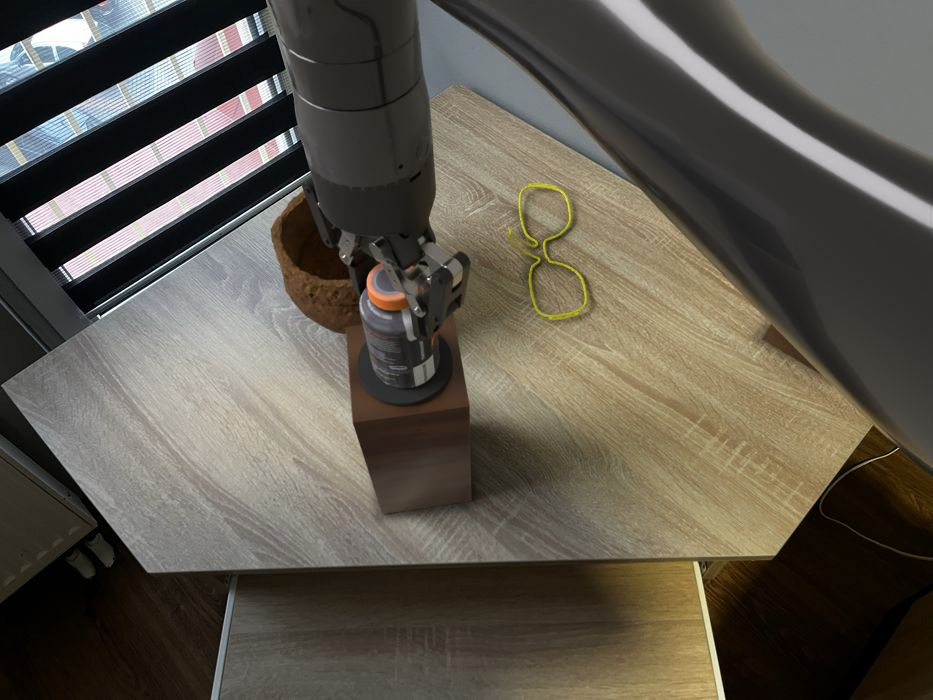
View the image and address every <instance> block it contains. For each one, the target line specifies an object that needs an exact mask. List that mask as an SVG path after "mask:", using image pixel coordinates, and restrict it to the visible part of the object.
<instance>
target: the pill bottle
mask: <svg viewBox="0 0 933 700" xmlns="http://www.w3.org/2000/svg"><path fill="white" fill-rule="evenodd" d="M412 268H414V267H413V266H411V267H409V268H408V269H406V270H404V271H402V273H403V275H405V274H406V273H408V272H409V271H410V270H411V269H412ZM427 289H428V287H427V285H426V283H425V282H424V283H423V284H421V285H420V286H419V288H418V292H419V295H420V296H421V295H422V294H423V293H424V292H425V291H426V290H427ZM359 309H360V315H361V320H362V324H363V328H364V332H365V337H366V341H367V345H368V350H369V354H370V358H371V363H372V366H373V369H374V371H375V373H376V375H377V376H378V377H379V379H380V380H382V381H383V382H384V383H386V384H387V385H389V386H393V387H396V388H413V387H416V386H419V385H421V384H423V383H425V382H426V381H428V380H429V379H430V378H431V377H432V376H433V375H434V373H435V372H436V370H437V368H438V366H439V361H440V354H439V343H438V332H436V333H435V334H434V335H433V336H432V337H431V338H430V339H429V340H428V339H427V338H426V339H425V340H424V341H420V340H418V339H417V338H416V337H414V334H413V327H412V320H411V313H410V310H411V307H410V305H409V303H408V301H407V299H406V297H405V295H404V293H401V292H398V291H396V290H395V289H394V288H393V286H392V284H391V282H390V280H389V278H388V276H387V274H386V272H385V270H384V268H383V266H382V264H381V263H380V264H379V265H377V266H376V267H374V268H373V269H372V270H371V271H370V273H369V275H368V278H367V287H366V288H365V289H364V291H363V293H362V295H361V298H360V303H359Z"/></svg>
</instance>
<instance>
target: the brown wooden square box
mask: <svg viewBox="0 0 933 700" xmlns="http://www.w3.org/2000/svg"><path fill="white" fill-rule="evenodd" d="M762 341H764V342H766V343H768V344H769V345H771V346H772V347H774V348H775V349H778V350H779V351H781V352H783V353H784V354H786V355H787V356H789V357H791V358H793V359H794V360H796V361H798V362H799V363H801V364H803V365H805V366H806V367H808V368H809V369H812V371H814V372H816V373H818V374H819V375H821V376H823V375H822V374H821V373H820V372H819V371H818V370H817V369H816V368H815V367H814V366H813V365H812V364H811V363H810V362H809V361H808V360H807V359H806V358H805V357H804V356H803V355H802V354H801V353H800V352H799V351H798V350H797V349H796V348H795V347H794V346H793V345H792V344H791V343H790V342H789V341H788V340H787V339H786V338H785V337H784V336H783V335H782V334H781V333H780V332H779V331H778V330H777V329H776V328H775V327H774V326H773V325H772V324H771V323H770V325H769V327H768V328H767V330H766V332H765V333H764V335H763V337H762Z"/></svg>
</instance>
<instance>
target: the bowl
mask: <svg viewBox="0 0 933 700" xmlns="http://www.w3.org/2000/svg"><path fill="white" fill-rule="evenodd" d="M430 221H431V220H429V223H430V224H431V222H430ZM330 225H331V227H332V226H334V225H333V224H332V223H331V222H330ZM270 238H271V243H272V244H273V245H272V246H273V249H274V252H275V256H276V260H277V261H278V262H277V263H278V264H279V267H280V270H281V273H282V279H283V285H284V290H285V292H286V294H287V295H288V296H289V298H290V300H291V302H292V303H293V304H294V305H295V306H296V307H297V308H298V309H299V311H300V312H301V313H302V314H303V315H304V316H305V317H306V318H308V319H309V320H311V321H312V322H314V323H316V324H318V325H319V326H321V327H323V328H325V329H327V330H329V331H331V332H333V333H335V334H344V335H346V327H351V326H359V325H363V324H362V320H361V315H360V309H359V303H360V298H361V296H359V295H358V294H357V293H355V292H354V288H353V284H352V280H351V278H350V274H349V270H348V266H347V264H345V263H344V262H343V261H342V260H341V258H340V256H339V251H340V249H339V248H338V247H337V246H336V245H335V246H333V247H332V248H330V247H328V246H327V245H326V244H325V243H324V242H323V240H322V238H321V235H320V233H319V230H318V227H317V225H316V222H315V220H314V217H313V214H312V212H311V209H310V206H309V204H308V201H307V199H306V196H305V193H304V191H303V190H302V191H300V193H298V194H297V195H296V196H293V197H292V198H291V200H290V201H288V203H287V206H286V208H285V209H283V210H282V212H281V214H280V215H278V216H277V217H276V218H275V220H274V222H273V224H272V225H271V227H270ZM376 261H377V260H376ZM418 262H419V261H418ZM418 262H417V263H415V264H414V265H412V266H413V267H415V266H416V265H417V264H418ZM379 264H380V262H379V261H377V265H379Z"/></svg>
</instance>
